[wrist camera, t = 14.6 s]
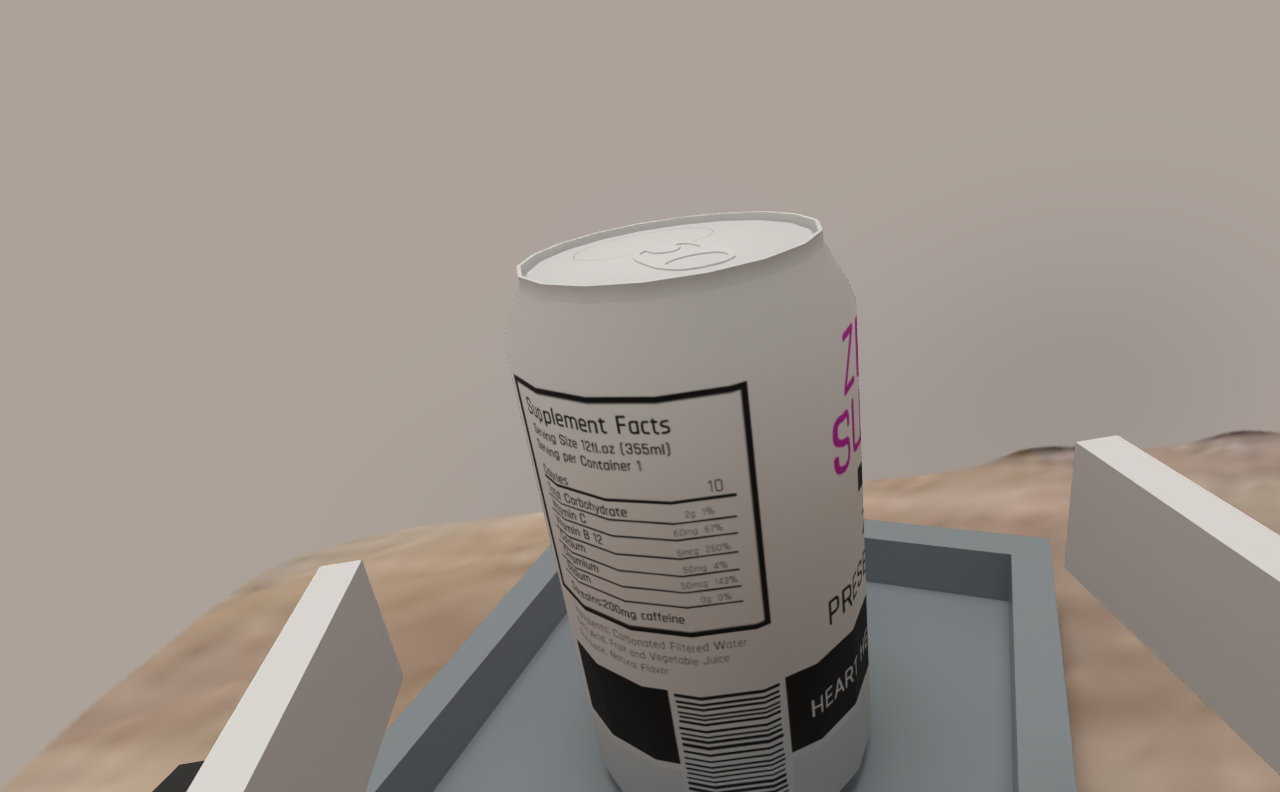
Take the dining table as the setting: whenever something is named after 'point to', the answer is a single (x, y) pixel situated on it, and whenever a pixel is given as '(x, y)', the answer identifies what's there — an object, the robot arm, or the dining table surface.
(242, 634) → the dining table surface
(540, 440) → the supplement can
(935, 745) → the tray
